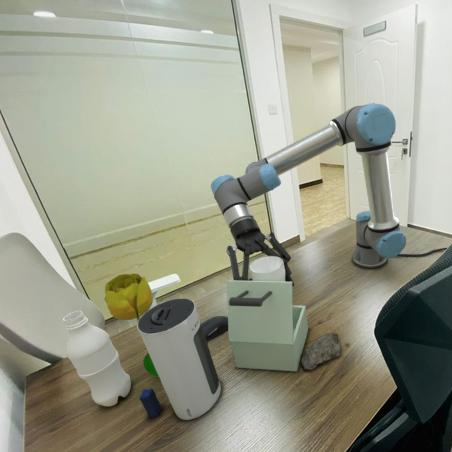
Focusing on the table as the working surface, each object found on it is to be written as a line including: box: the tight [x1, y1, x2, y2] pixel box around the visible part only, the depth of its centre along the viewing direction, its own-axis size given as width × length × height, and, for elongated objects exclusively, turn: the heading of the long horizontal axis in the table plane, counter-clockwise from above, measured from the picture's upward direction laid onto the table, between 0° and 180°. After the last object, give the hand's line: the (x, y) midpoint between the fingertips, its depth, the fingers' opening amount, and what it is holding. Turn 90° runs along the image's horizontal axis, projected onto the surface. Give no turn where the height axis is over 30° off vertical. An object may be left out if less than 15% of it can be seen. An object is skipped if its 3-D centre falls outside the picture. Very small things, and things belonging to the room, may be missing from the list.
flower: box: [104, 273, 159, 377], centre depth 63 cm, size 9×8×30 cm
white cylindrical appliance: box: [136, 297, 222, 421], centre depth 57 cm, size 11×10×26 cm
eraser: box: [139, 388, 162, 418], centre depth 58 cm, size 2×2×7 cm
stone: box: [300, 332, 342, 371], centre depth 72 cm, size 14×8×3 cm, turn 116°
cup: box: [249, 255, 286, 282], centre depth 71 cm, size 9×9×12 cm
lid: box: [226, 279, 294, 344], centre depth 61 cm, size 15×17×9 cm
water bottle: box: [62, 310, 132, 407], centre depth 59 cm, size 7×7×25 cm
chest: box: [229, 304, 309, 372], centre depth 74 cm, size 15×17×9 cm
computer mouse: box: [201, 315, 228, 342], centre depth 78 cm, size 12×17×4 cm
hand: (276, 294), depth 69 cm, fingers closed on cup, 9 cm apart
